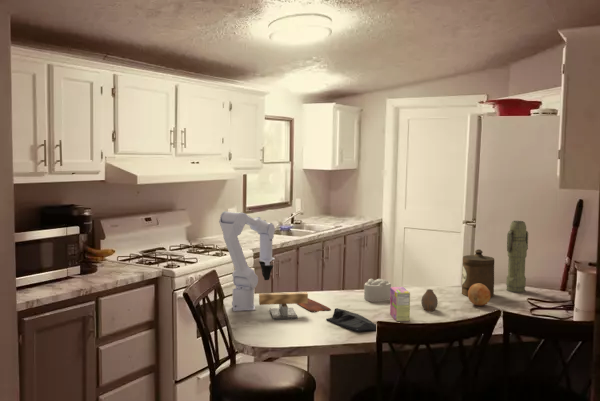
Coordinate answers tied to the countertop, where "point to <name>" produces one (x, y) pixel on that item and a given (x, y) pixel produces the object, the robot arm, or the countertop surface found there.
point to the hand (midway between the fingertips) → (265, 278)
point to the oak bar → (283, 298)
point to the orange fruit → (479, 294)
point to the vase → (429, 300)
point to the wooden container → (478, 272)
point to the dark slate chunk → (351, 320)
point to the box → (400, 303)
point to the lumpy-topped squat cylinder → (377, 290)
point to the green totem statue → (517, 256)
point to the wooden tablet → (314, 306)
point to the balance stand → (283, 313)
